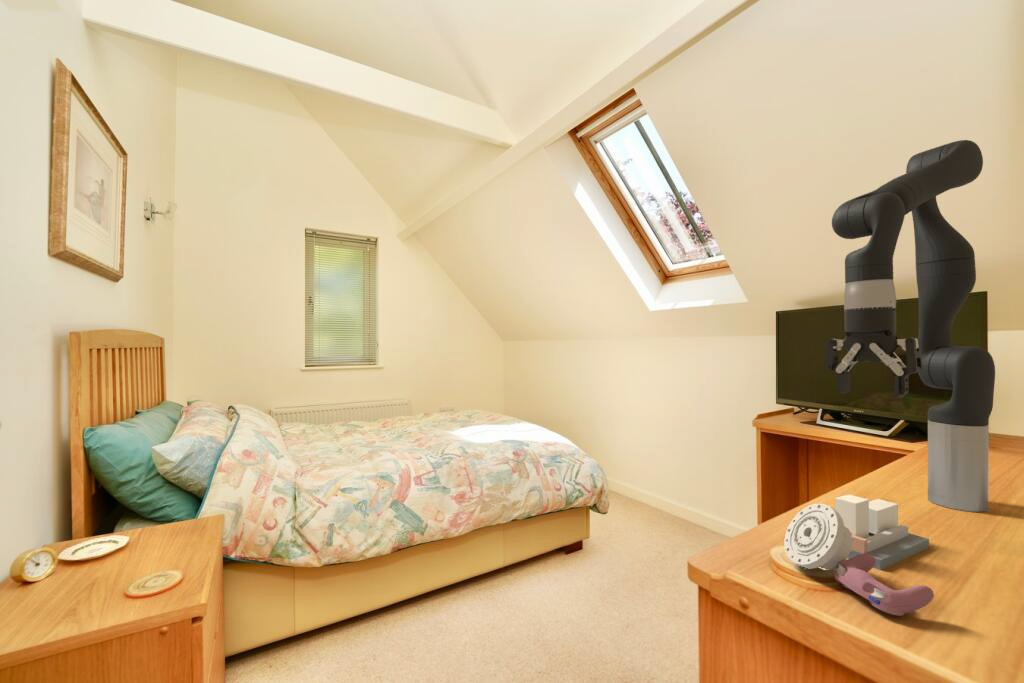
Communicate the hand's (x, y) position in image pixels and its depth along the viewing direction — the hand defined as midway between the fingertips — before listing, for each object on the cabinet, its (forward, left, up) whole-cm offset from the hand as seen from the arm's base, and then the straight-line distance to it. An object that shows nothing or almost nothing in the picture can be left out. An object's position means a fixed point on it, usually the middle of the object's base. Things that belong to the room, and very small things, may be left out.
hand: (871, 394), depth 85 cm
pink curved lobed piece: (+24, +14, -23) cm, 36 cm away
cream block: (+1, +3, -20) cm, 21 cm away
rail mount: (+9, +3, -25) cm, 26 cm away
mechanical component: (+26, +1, -24) cm, 35 cm away
